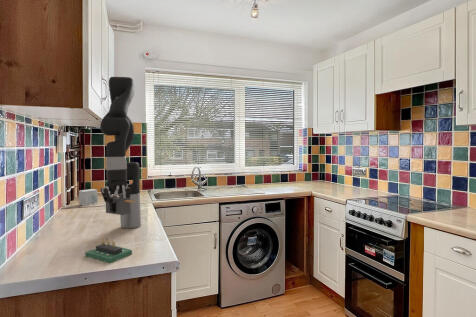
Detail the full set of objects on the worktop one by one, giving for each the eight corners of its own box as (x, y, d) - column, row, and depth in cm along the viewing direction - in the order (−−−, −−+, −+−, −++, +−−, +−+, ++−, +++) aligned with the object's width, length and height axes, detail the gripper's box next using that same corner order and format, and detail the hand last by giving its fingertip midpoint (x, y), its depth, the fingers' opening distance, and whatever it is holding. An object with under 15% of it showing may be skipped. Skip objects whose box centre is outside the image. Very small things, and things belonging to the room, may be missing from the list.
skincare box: (83, 206, 203) (82, 191, 203) (79, 205, 207) (78, 190, 207) (98, 203, 211) (97, 189, 211) (93, 202, 215) (93, 188, 215)
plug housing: (105, 212, 117) (105, 197, 117) (114, 211, 120) (113, 196, 120) (129, 216, 111) (128, 200, 110) (137, 214, 114) (136, 198, 114)
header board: (85, 256, 112) (84, 240, 111) (108, 247, 120) (107, 233, 120) (109, 263, 105) (109, 246, 104) (132, 253, 114) (131, 238, 113)
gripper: (124, 167, 124) (125, 207, 124) (94, 169, 111) (95, 214, 112) (137, 167, 120) (138, 208, 121) (107, 169, 108) (108, 216, 108)
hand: (117, 211), depth 116 cm, fingers closed on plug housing, 3 cm apart
